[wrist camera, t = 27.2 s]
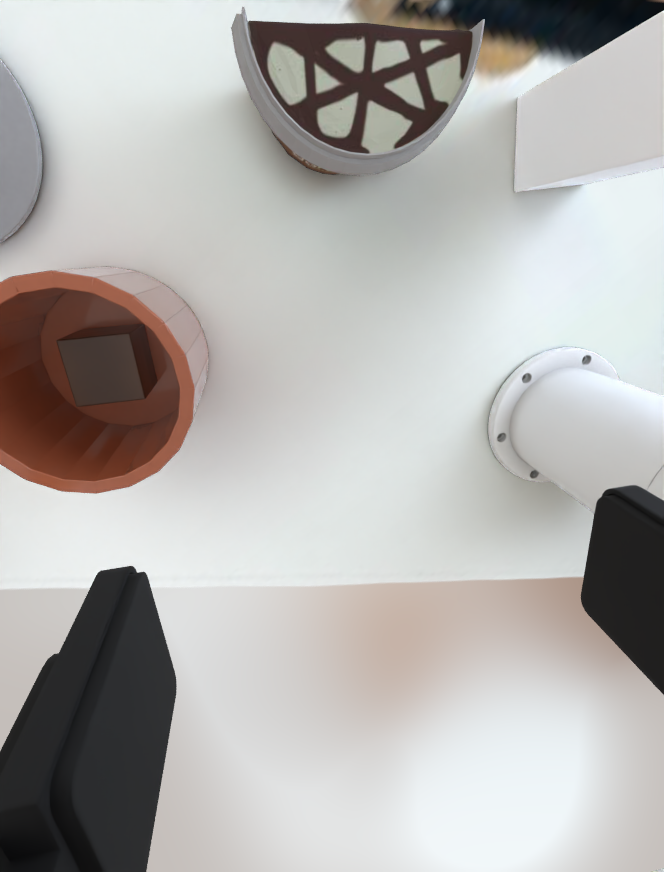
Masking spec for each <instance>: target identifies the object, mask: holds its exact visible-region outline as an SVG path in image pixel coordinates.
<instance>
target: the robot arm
mask: <svg viewBox="0 0 664 872" xmlns="http://www.w3.org/2000/svg"><path fill="white" fill-rule="evenodd" d="M488 435H489V441H490V446H491V448H492V450H493V453H494V455H495V457H496V458H497V459H498V461H499V462H500V463H501V464H502V465H503V466H504V467H505V468H506V469H507V470H508V471H510V472H511V473H513V474H514V475H516V476H517V477H519V478H522V479H525V480H527V481H534V482H551V481H552V482H553V483H554V484H556V485H557V486H558V487H560V488H561V489H562V490H564V491H565V492H566V493H568V494H569V495H570V496H572V497H573V498H574V499H576V500H577V501H578V502H580V503H581V504H582V505H584V506H585V507H586V508H588V509H589V510H590V511H592V512H593V513H594V520H593V526H592V532H591V538H590V544H589V550H588V556H587V562H586V568H585V574H584V580H583V586H582V592H581V602H582V605H583V607H584V609H585V611H586V612H587V614H588V615H589V616H590V617H591V618H592V619H593V620H594V621H595V622H596V623H597V624H598V626H600V628H601V629H602V630H603V631H604V632H605V633H606V634H607V635H608V636H609V637H610V638H611V639H612V640H613V641H614V642H615V644H616V645H617V646H618V647H619V648H620V649H621V650H622V651H623V652H624V653H625V654H626V655H627V656H628V657H629V658H630V659H631V661H632V662H633V663H634V664H635V665H636V666H637V667H638V668H639V669H640V670H641V671H642V672H643V673H644V674H645V675H646V676H647V678H648V679H650V681H651V682H652V683H653V684H654V685H655V686H656V687H657V688H658V689H659V690H660V691H661V692H662V693H663V694H664V396H663V395H660V394H657V393H654V392H651V391H648V390H645V389H642V388H639V387H636V386H633V385H630V384H627V383H624V382H621V381H620V378H619V376H618V374H617V372H616V370H615V368H614V367H613V366H612V365H611V364H610V363H609V361H608V360H606V359H605V358H603V357H602V356H600V355H599V354H597V353H594V352H591V351H588V350H585V349H580V348H576V347H561V348H556V349H551V350H548V351H545V352H543V353H540V354H538V355H536V356H534V357H532V358H531V359H529V360H528V361H526V362H524V363H523V364H522V365H521V366H520V367H518V368H517V369H516V370H515V371H514V372H513V373H512V374H511V375H510V376H509V378H508V379H507V380H506V381H505V382H504V384H503V385H502V387H501V389H500V390H499V392H498V394H497V395H496V398H495V400H494V403H493V405H492V408H491V412H490V416H489V421H488ZM175 698H176V676H175V671H174V668H173V664H172V661H171V657H170V654H169V650H168V647H167V644H166V640H165V636H164V633H163V630H162V626H161V622H160V619H159V616H158V612H157V608H156V605H155V602H154V598H153V594H152V591H151V587H150V584H149V580H148V577H147V575H146V573H145V572H140V573H137V572H136V569H135V568H134V567H133V566H128V567H121V568H115V569H109V570H103V571H100V572H99V573H98V574H97V575H96V577H95V579H94V582H93V584H92V586H91V588H90V590H89V592H88V594H87V596H86V598H85V600H84V603H83V604H82V607H81V609H80V611H79V613H78V615H77V617H76V619H75V621H74V623H73V625H72V627H71V629H70V631H69V634H68V636H67V638H66V640H65V642H64V644H63V646H62V648H61V650H60V652H59V654H54V655H52V656H51V657H50V658H49V659H48V660H47V661H46V663H45V665H44V666H43V668H42V670H41V672H40V673H39V675H38V678H37V679H36V681H35V683H34V685H33V688H32V689H31V691H30V693H29V695H28V697H27V699H26V701H25V703H24V705H23V707H22V709H21V711H20V713H19V715H18V717H17V719H16V721H15V723H14V725H13V727H12V729H11V731H10V733H9V735H8V737H7V739H6V741H5V743H4V745H3V747H2V749H1V751H0V872H146V869H147V863H148V857H149V851H150V845H151V839H152V833H153V827H154V822H155V816H156V810H157V803H158V798H159V792H160V786H161V780H162V774H163V769H164V763H165V757H166V751H167V745H168V739H169V733H170V726H171V721H172V715H173V709H174V703H175ZM652 872H664V868H663V869H660V870H656V871H652Z"/></svg>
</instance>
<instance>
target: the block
mask: <svg viewBox="0 0 664 872" xmlns="http://www.w3.org/2000/svg"><path fill="white" fill-rule="evenodd" d="M56 342H57V345H58V348H59V352H60V355H61V358H62V362H63V365H64V368H65V371H66V375H67V378H68V381H69V385H70V388H71V391H72V394H73V398H74V401H75V404H76V407H83V406H91V405H100V404H108V403H117V402H125V401H134V400H142V399H146V397H147V396H148V394H149V393H150V392H151V390H152V389H153V388H154V386H155V385H156V384H157V378H156V374H155V369H154V365H153V361H152V356H151V352H150V347H149V343H148V339H147V334H146V330H145V325H144V324H134V325H124V326H113V327H103V328H93V329H83V330H79V331H77V332H74V333H72V334H70V335H67V336H65V337H63V338H60V339H58V340H56Z"/></svg>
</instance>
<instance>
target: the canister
mask: <svg viewBox="0 0 664 872" xmlns="http://www.w3.org/2000/svg"><path fill="white" fill-rule="evenodd" d="M134 324H144V325H145V330H146V334H147V339H148V343H149V347H150V352H151V356H152V361H153V365H154V369H155V374H156V378H157V384H156V385H155V386H154V388H153V389H152V390H151V392H150V393H149V394H148V396H147V397H146V399H142V400H134V401H125V402H117V403H108V404H100V405H91V406H83V407H76V404H75V401H74V398H73V394H72V391H71V388H70V385H69V381H68V378H67V375H66V371H65V368H64V365H63V362H62V358H61V355H60V352H59V348H58V345H57V342H56V340H58V339H60V338H63V337H65V336H67V335H70V334H72V333H74V332H77V331H79V330H83V329H93V328H103V327H113V326H124V325H134ZM208 365H209V355H208V348H207V342H206V339H205V336H204V332H203V330H202V328H201V325H200V323H199V321H198V320H197V318H196V316H195V315H194V313H193V311H192V310H191V309H190V308H189V306H188V305H187V304H186V302H185V301H184V300H183V299H182V298H181V297H180V296H179V295H178V294H176V293H175V292H174V291H173V290H171V289H170V288H169V287H168V286H166V285H164V284H163V283H161V282H160V281H158V280H156V279H154V278H152V277H150V276H148V275H145V274H142V273H140V272H137V271H133V270H128V269H123V268H114V267H107V266H106V267H92V268H78V269H65V270H51V271H44V272H38V273H31V274H25V275H19V276H12V277H9V278H8V279H6V280H4V281H2V282H0V464H1V465H2V466H4V467H6V468H7V469H9V470H10V471H12V472H14V473H15V474H17V475H18V476H20V477H22V478H23V479H26V480H28V481H31V482H34V483H37V484H40V485H43V486H47V487H50V488H53V489H56V490H59V491H65V492H81V493H101V492H106V491H111V490H116V489H121V488H126V487H130V486H132V485H134V484H136V483H138V482H140V481H142V480H144V479H146V478H147V477H149V476H151V475H153V474H155V473H157V472H158V471H160V470H161V469H162V468H163V467H164V466H165V464H166V463H167V462H168V461H169V460H170V459H171V458H172V457H173V456H174V455H175V454H176V453H177V452H178V451H179V450H180V448H181V446H182V444H183V442H184V439H185V437H186V435H187V433H188V430H189V428H190V426H191V423H192V421H193V418H194V415H195V413H196V410H197V407H198V404H199V401H200V398H201V395H202V392H203V390H204V387H205V384H206V381H207V373H208Z"/></svg>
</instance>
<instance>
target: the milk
mask: <svg viewBox="0 0 664 872" xmlns="http://www.w3.org/2000/svg"><path fill="white" fill-rule="evenodd" d="M659 168H664V11H662V12H660V13H659V14H657V15H655V16H654V17H652V18H650V19H649V20H647V21H645V22H643V23H642V24H640V25H638V26H637V27H635V28H633V29H632V30H630V31H628V32H627V33H625V34H623V35H622V36H620V37H618V38H616V39H615V40H613V41H611V42H610V43H608V44H606V45H605V46H603V47H601V48H600V49H598V50H596V51H595V52H593V53H591V54H589V55H588V56H586V57H584V58H583V59H581V60H579V61H578V62H576V63H574V64H573V65H571V66H569V67H568V68H566V69H564V70H563V71H561V72H559V73H557V74H556V75H554V76H552V77H551V78H549V79H547V80H546V81H544V82H542V83H541V84H539V85H537V86H536V87H534V88H532V89H530V90H529V91H527V92H525V93H524V94H522V95H520V96H519V97H518V99H517V123H516V150H515V177H514V192H521V191H530V190H538V189H547V188H556V187H565V186H574V185H583V184H589V183H594V182H598V181H603V180H608V179H612V178H617V177H622V176H626V175H631V174H636V173H640V172H645V171H650V170H655V169H659Z"/></svg>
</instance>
